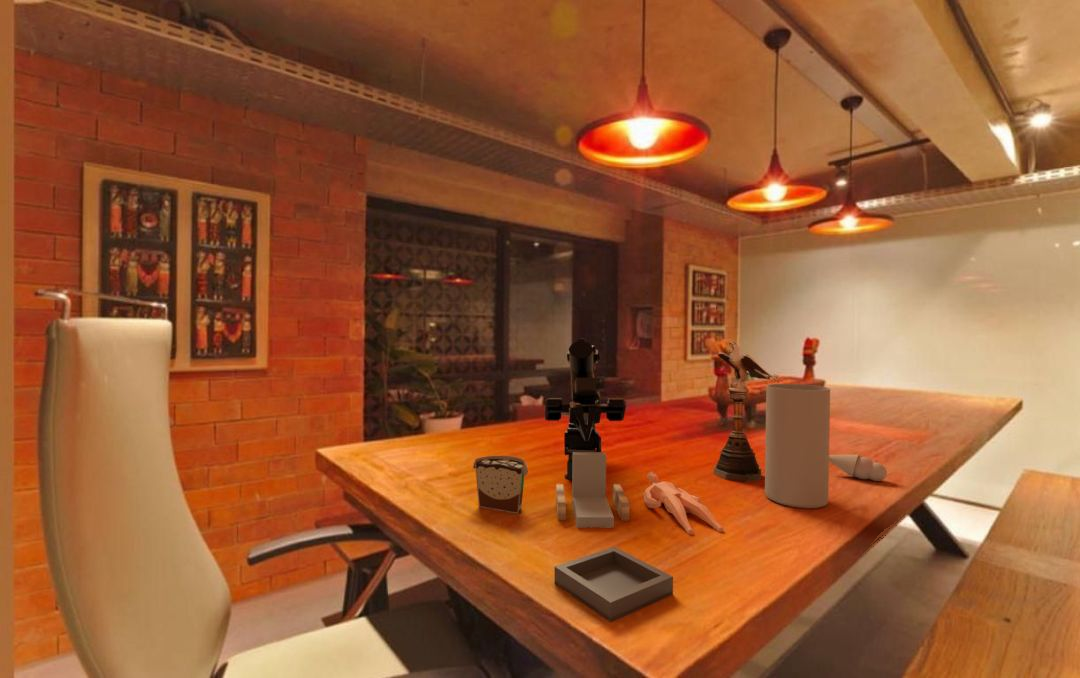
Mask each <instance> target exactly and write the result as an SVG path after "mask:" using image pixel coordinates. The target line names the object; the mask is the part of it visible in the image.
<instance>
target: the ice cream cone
mask: <svg viewBox="0 0 1080 678" xmlns="http://www.w3.org/2000/svg"><path fill="white" fill-rule="evenodd" d="M829 464H832V465H833V466H835V467H836V468H838V469H840V470H842V472H844V473H846V474H847V475H848V476H850V477H851V478H855V477H856V478H857V479H860V480H871V481H874V482H880V481H881V482H882V481H883V480H885V479H886V477H887V476H888V475H887V474H888V472H887V471H888V470H887V468H886V467H885V466H884V465H883V464H882V463H880V462H876V461H873V460H872V459H870V458H869V457H866V456H860V454H858V453H857V454H856V453H855V454H829Z"/></svg>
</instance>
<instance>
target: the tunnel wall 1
mask: <svg viewBox="0 0 1080 678" xmlns="http://www.w3.org/2000/svg"><path fill="white" fill-rule="evenodd" d="M555 505H556V514H557V521H566V520H567V519H566V516H567V515H566V514H567V512H566V511H567V510H566V507H567V506H566V505H567V503H566V496H565V489H564V484H563V483H556V484H555Z"/></svg>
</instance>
